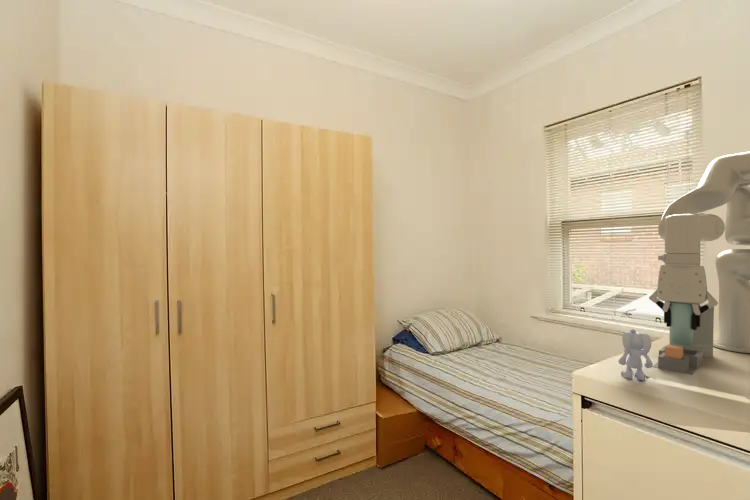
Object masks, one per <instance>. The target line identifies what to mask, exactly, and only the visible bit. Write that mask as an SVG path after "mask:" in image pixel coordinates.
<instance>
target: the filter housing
mask: <svg viewBox="0 0 750 500" xmlns="http://www.w3.org/2000/svg"><path fill="white" fill-rule="evenodd" d="M665 346H666V345H664V346H663V347H661V348H660V349H659V350H658V356H657V357H658V359H657V362H656V363H655V364H653V366H652V367H651V368H655V369H659V370H665V371H670V372H675V373H680V374H685V375H690V376H693V375H694V373H695V372H696V370H698V369H699V367H701V365H702V364H703V356H702V355H703V351H697V350H691V349H685V348H683V359H682V360H680V359H674V358H669V357H665Z"/></svg>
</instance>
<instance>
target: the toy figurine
mask: <svg viewBox="0 0 750 500" xmlns="http://www.w3.org/2000/svg"><path fill="white" fill-rule="evenodd" d="M621 340H622V345H623V348H624V350H623V355H622V356H621V357H620V358H619V359H618V360H617V361H618V363H619V365H621V366H625V365H626V368H625V369H623V370H621V372H620V375H621V376H622V377H623V378H625V379H628V380H632V379H633V378H634V377H635V378H636V380H638V381H642V382H643V381H644V382H645V380H646V374H645V373H644V371H643V361H642V360H643V359H642V358H641V356H643V357H644V358H645V363H644V367H645V368H646V369H651V368H653V367H652V366H654V364H653V361H652V359H651V358H650V357H649V355H648V353H650V350H651V348H652V339H651V336H650V335H649V334H648V333H646V332H638V331H636V330H635V329H633V328H632V329H630V330H629V331H623V332H622V339H621ZM633 369H635V371H636V372H635V373H633ZM633 375H634V376H633Z"/></svg>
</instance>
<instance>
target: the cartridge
mask: <svg viewBox="0 0 750 500" xmlns="http://www.w3.org/2000/svg"><path fill="white" fill-rule="evenodd" d="M692 315H693V307H692V304H689V303H677V302H671V329H670V328H669V343H670V342H671V343H674V344H678V345H687V346H691V345H693V329H692Z"/></svg>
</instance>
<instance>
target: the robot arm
mask: <svg viewBox="0 0 750 500" xmlns="http://www.w3.org/2000/svg"><path fill="white" fill-rule="evenodd" d="M725 204H726V212H725V213H726V214H725V222H724V221H723V219H722V218H721V217H720V216H718V215H716V214H712V213H703V212H708V211H709V210H713V209H716V208H719V207H722V206H724V205H725ZM657 231H658V235H659V236H660V238H661V239H662V240H664V253H663V254H661V255H658V256H657V259H658V261H661V262H663V263H664V264H660V267H659V271H658V279H657V289H655V291H654V292H653V293H652V294H651V295H650V296H649V297H648V299H649V300H650V301H651V302H653V303H654V304H656V306H658V307H659V308H660V309H661V310H662V311H663V322H664V323H665V325H666V327H667V328H670V326H671V309H670V307H671V302H677V303H689V304H692V307H693V310H694V312H693V315H692V329H693V330H696V329H697V327H700V314H702V313H703V312H705V311H706V310H708V309H710V308H712V307H714V308H715V307H716V306H718V340H713V348H714V347H715V348H718V349H721V350H725V351H731V352H736V353H742V354H743V353H744V354H750V248H734V249H733V248H732V249H726V250H723V251H721V252H718V254H717V256H716V258H715V269H716V273H717V278H718V300H716V299H715V298H714V296H713V295H712V294H711V293H710V292H709V291H708V284H707V275H706V274H707V273H706V270H705V267H704V265H701V242H713V241H715V240H718V239H719V238H721V237H722V236H723V235H724V238H725V241H726V242H727V243H729V244H731V245H735V246H750V151H745V152H739V153H734V154H733V153H732V154H726V155H722V156H719V157H716V158H715V159H713V160H712V161H711V162H710V163H709V164H708V165H707V168H706V169H705V172H704V173H703V175H702V177H701V179H700V181H699V183H698V184H697V186H696V188H694V189H692V190H690V191H689V192H687V193H685V194H684V195H682V196H680V197H679V198H677V199H675V200H674V201H673V202H671V203H669V205H668V206H667V207H666V209H665V210H664V212H663V214H662V216H661V218H660V220H659V223H658V227H657ZM706 301H708V303H705V302H706ZM701 303H705V304H706V305H704V306H702V307H701V306H700V304H701Z"/></svg>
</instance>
